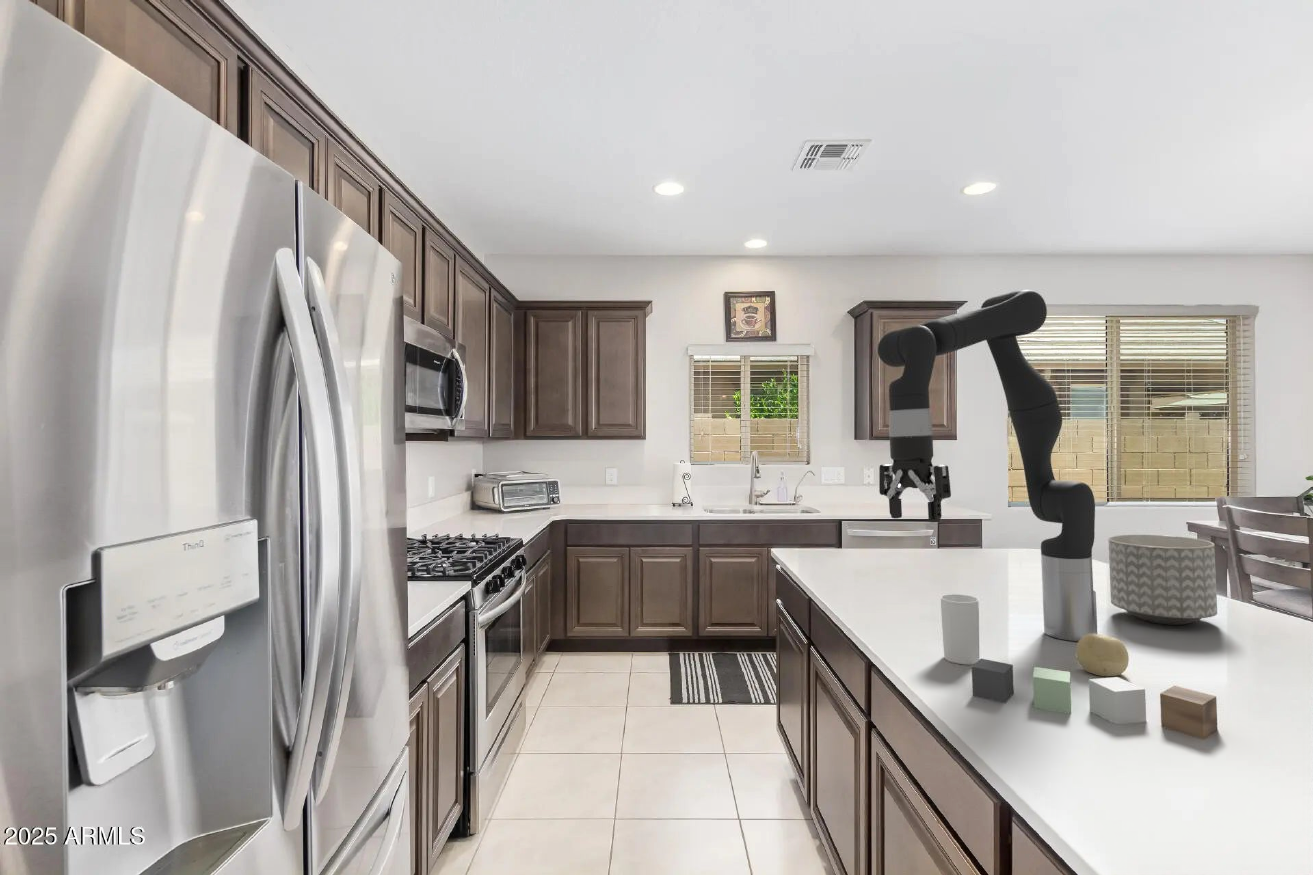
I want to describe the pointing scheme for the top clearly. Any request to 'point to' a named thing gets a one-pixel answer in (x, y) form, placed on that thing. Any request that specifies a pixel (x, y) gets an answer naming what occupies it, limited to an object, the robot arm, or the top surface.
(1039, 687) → the sage block
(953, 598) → the mug
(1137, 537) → the planter
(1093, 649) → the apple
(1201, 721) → the walnut block
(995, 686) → the charcoal block
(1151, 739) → the top surface
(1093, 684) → the grey block
